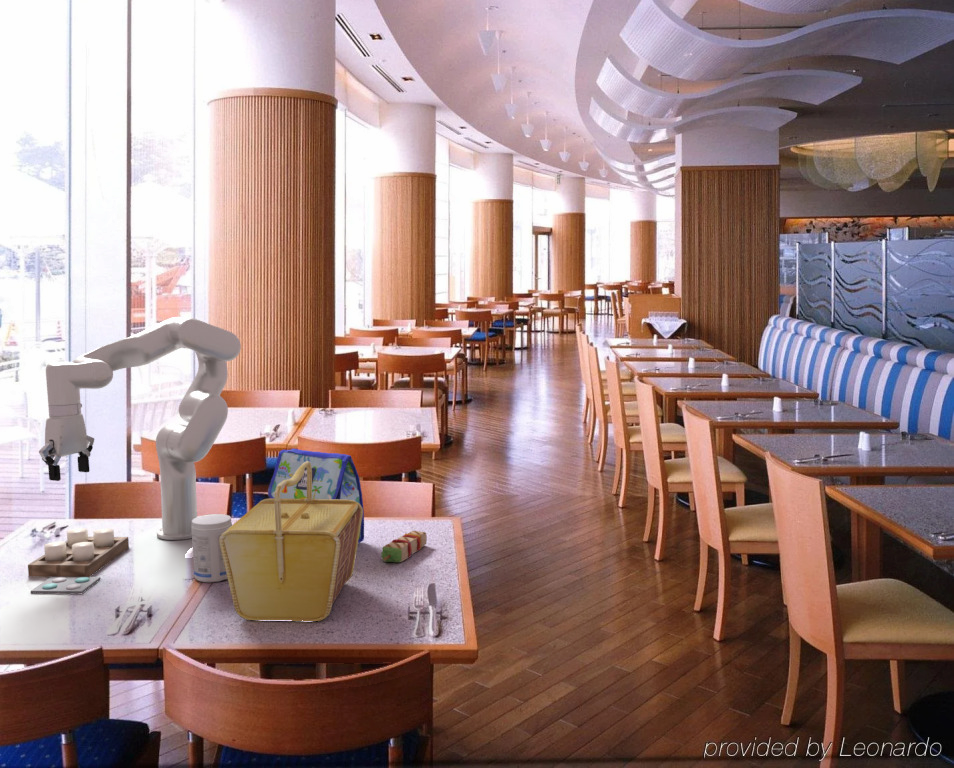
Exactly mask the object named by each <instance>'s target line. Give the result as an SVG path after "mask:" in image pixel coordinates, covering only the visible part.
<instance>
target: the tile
mask: <svg viewBox="0 0 954 768" xmlns="http://www.w3.org/2000/svg"><path fill="white" fill-rule="evenodd" d="M100 579H101V576H90V577H48V578H47V579H46V580H44V581H42V583H40V584H38V585H37V586H35V587H34V588H33V589H31V590H30V594H48V593H82V594H84V593H85V592H86V591H88V590H89V589H90V588H92V587H93V586H95V584H97V583H98V582H99V581H100ZM101 580H102V579H101ZM97 581H98V582H97ZM96 582H97V583H96ZM92 585H93V586H92ZM89 587H90V588H89ZM88 588H89V589H88ZM87 589H88V590H87ZM85 590H86V591H85ZM84 591H85V592H84ZM83 592H84V593H83Z"/></svg>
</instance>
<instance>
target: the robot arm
mask: <svg viewBox="0 0 954 768" xmlns="http://www.w3.org/2000/svg"><path fill="white" fill-rule="evenodd" d="M178 349H187V350H188V349H189V350H191V351H195V354H196V358H197V361H198V368H197V369H198V370H197V372H196V374H195V377H194V378H193V380H192V382H191V384H190V386H189V388H187V391H186V393H185V394H184V396H183V397H182V399H181V400H180V403H179V405H178V414H179V416H180V418H181V419H182V420H183V421H185V422H187V425H185V424H180V423H170V424H167V425H165V426H163V427H162V428H161V429H160V430H159V431H158V433H157V435H156V438H155V449H156V453H157V457H158V458H157V459H158V465H159V476H160V498H161V499H160V500H161V505H160V506H161V526H162V528H160V529H158V530H157V531H156V537H157V538H158V539H161V540H168V541H182V540H188V539H192V520H193V519H194V518H196V517H199V516H200V515H198V506H197V504H198V503H197V502H198V501H197V475H196V474H197V473H196V472H197V471H196V466H195V463H197V462H200V461H201V460H203V459H204V458H205V457H206V456H207V455H208V453H209V452H210V450H211V449H212V447H213V445H214V443H216V440H217V438H218V436H219V435H220V433H221V431H222V429H223V428H224V425H225V423H226V421H227V419H228V414H229V407H228V404H227V402H226V400H225V399H224V398H223V397H222V396H221V394H222V393H223V390H224V388H225V386H226V383H227V381H228V376H229V374H228V365H227V364H228V363H227V362H230V361H233V360H235V359H236V358H237V357H238V356H239V354H240V353H241V349H242V345H241V341H240V339H239V338H238V336H237V334H235V333H233V332H232V331H229V330H227V329H224V328H221V327H219V326H215V325H213V324H210V323H207V322H205V321H203V320H199V319H197V318H193V317H184V316H182V317H181V316H174V317H171V318H168V319H165V320H163V321H161V322H159V323H157V324H155V325H153V326H151V327H149V328H147V329H144V330H143V331H140V332H138V333H135V334H133V335H131V336H129V337H125V338H121V339H119V340H118V341H114V342H111V343H108V344H105V345H102V346H100V347H97V348H95V349H93V350H90V351H89V352H86V353H84V354H82V355H80V356H78V357H76V358H75V359H73V360H72V361H58V362H57V361H56V362H51V363H48V364H47V365H46V366H45V367H46V368H45V377H46V378H45V379H46V393H47V404H48V405H47V406H48V417H47V418H46V421H45V428H44V446H43V447H41V448H40V449H39V451H38V453H39V456H40V457H41V460H42V461H43V462H44V463H45V465H46V466H48V467H47V469H48V479H49V481H53V482H54V481H56V482H61V479H62V478H61V467H60V466H61V465H59V462H60V459H61V458H62V457H67V456H70V455H74V454H77V455H78V456H77V469H78V472H80V473H90V471H91V470H90V458H89V457H91V455H92V454H91V452H92V450H93V446H94V443H95V438H94V437H92V436H89V435H88V434H87V429H86V428H87V427H86V422H85V418H84V415H83V413H82V408H83V404H82V403H81V393H80V392H81V391H80V390H81V389H91V390H94V389H95V390H97V389H102V388H106V387H107V386H109V384H110V383H111V382H112V380H113V377H114V372H115V371H119V370H122V369H128V368H135V367H136V368H137V367H141V366H146V365H149V364H151V363H152V362H153V363H154V362H155V361H157V360H159V359H161V358H162V357H166V356H167V355H168V354H171V353H172V352H174V351H177V350H178Z"/></svg>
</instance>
